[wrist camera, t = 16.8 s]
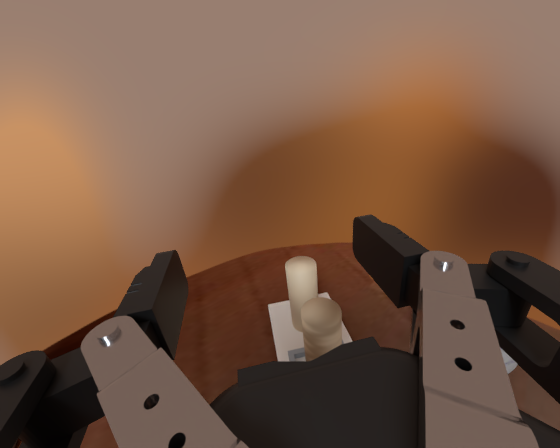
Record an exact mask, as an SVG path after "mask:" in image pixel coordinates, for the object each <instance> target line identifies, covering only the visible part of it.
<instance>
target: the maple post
mask: <svg viewBox="0 0 560 448" xmlns="http://www.w3.org/2000/svg"><path fill="white" fill-rule="evenodd" d="M301 320H302V329H303V339H304V349H305V359H306V361H311V360H314V359H316V358H318V357H319V356H321V355H323V354H325V353H327V352H328V351H330V350H332V349H334V348H336V347H338V346H339V345H341V344H342V311H341V308H340V306H339V305H338V304H337V303H336V302H335V301H333V300H331V299H328V298H323V297H318V298H313V299H310V300H308V301H307V302H305V303H304V304H303V306H302V308H301Z"/></svg>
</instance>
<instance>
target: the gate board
mask: <svg viewBox="0 0 560 448" xmlns="http://www.w3.org/2000/svg"><path fill="white" fill-rule="evenodd" d="M285 269H286V277H287V285H288V293H289V300H288V301H283V302H279V303H274V304H269V305H268V308H269V314H270V319H271V325H272V331H273V336H274V342H275V347H276V353H277V359H278V361H306V359H305V349H304V339H303V329H302V320H301V308H302V306H303V304H304V303H305V302H307V301H308V300H310V299H313V298H318V297H323V298H328V299H330V297H329V295H328V293H322V294H318V285H317V268H316V262H315V260H314V259H312V258H310V257H306V256H298V257H294V258H291V259H290V260H288V261H287V262H286V264H285ZM349 342H353V341H352V339H351V337H350V335H349V333H348V332H347V330H346V328H345V326H344V324H343V322H342V344H345V343H349Z"/></svg>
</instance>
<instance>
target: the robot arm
mask: <svg viewBox="0 0 560 448" xmlns="http://www.w3.org/2000/svg"><path fill="white" fill-rule="evenodd" d="M353 252H354V255H355V258H356V259H357V261H358V262H359V263H360V264H361V265H362V266H363V268H364V269H365V270H366V271H367V272H368V274H369V275H370V276H371V277H372V278H373V279H374V281H375V282H376V283H377V284H378V285H379V286H380V288H381V289H382V290H383V291H384V292H385V294H386V295H387V296H388V297H389V298H390V299H391V301H392V302H393V303H394V304H395V305H396V307H397V308H401V307H405V306H409V305H410V306H411V307H412V314H411V331H410V351H409V353H408V352H405V351H402V350H398V349H393V348H385V347H380V346H379V345H378V343H377V342H376V340H375V339H374V337H369V338H365V339H361V340H357V341H353V342H349V343H345V344H341V345H339V346H338V347H336V348H334V349H332V350H330V351H328V352H327V353H325V354H323V355H321V356H319V357H318V358H316V359H314V360H311V361H272V362H268V363H264V364H260V365H256V366H252V367H248V368H244V369H240V370H238V383H236V384H235V385H233V386H231V387H230V388H228V389H227V390H225V391H224V392H223V393H222V394H220V395H219V396H218V397H217V398H216V399H215V400H214V401H213V402H212V403H211V404H210V405H209V404H208V403H207V402H206V401H205V399H204V398H203V397H202V396H201V395H200V393H199V392H198V391H197V390H196V389H195V387H194V386H193V385H192V384H191V383H190V381H189V380H188V379H187V378H186V376H185V375H184V374H183V373H182V372H181V370H180V369H179V368H178V367H177V366H176V364H175V363H174V362H173V361H172V360H174V358H175V353H176V348H177V343H178V339H179V334H180V329H181V324H182V320H183V315H184V310H185V305H186V301H187V296H188V283H187V279H186V276H185V273H184V270H183V267H182V264H181V261H180V258H179V255H178V253H177V251H176V250H172V251H167V252H162V253H157V254H156V255H155V257H154V259H153V261H152V263H151V266H149V267H145V268H144V269H143V270H142V271H140V273H138V274H137V275H136V276H135V278H134V280H133V282H132V283H131V286H130V287H129V289H128V291H127V294H125V296H124V298H123V300H122V302H121V304H120V306H119V307H118V309H117V311H116V313H115V315H114V317H113V318H111V319H109V320H106V321H104V322H102V323H101V324H99V325H98V326H96V327H95V328H94V329H92V330H91V331H90V332H89V333H88V334H87V335H86V337H85V338H84V340H83V341H82V344H81V347H80V348H77V349H75V350H73V351H70V352H68V353H66V354H64V355H61V356H59V357H57V358H54V359H52V360H50V359H49V358H48V356H47V355H46V354H45V353H44V352H43V351H30V352H26V353H23V354H21V355H18V356H16V357H14V358H12V359H10V360H9V361H7V362H5V363H4V364H2V365H0V448H15V445H16V443H17V440H18V438H19V439H20V440H21V441H22V443H21V445H20V447H19V448H80V445H81V443H82V440H83V438H84V435H85V432H86V430H87V427H88V425H89V424H91V423H92V422H94V421H96V420H98V419H100V418H102V417H103V416H106V418H107V421H108V423H109V425H110V428H111V430H112V432H113V435H114V437H115V439H116V442H117V444H118V446H119V448H560V431H559V430H557V429H555V428H553V427H551V426H549V425H547V424H546V423H544V422H542V421H540V420H538V419H536V418H534V417H532V416H530V415H529V414H527V413H525V412H523V411H521V410H519V409H518V407H517V404H516V401H515V397H514V394H513V390H512V387H511V384H510V380H509V377H508V373H507V370H506V366H505V363H504V360H503V356H502V353H501V349H502V350H503V351H504V352H506V353H507V354H508V355H509V356H510V357H511V358H512V359H513V360H514V361H515V362H516V363H517V364H518V365H519V366H520V367H521V368H522V369H523V370H524V371H526V372H527V373H528V374H529V375H530V376H531V377H532V378H533V379H534V380H535V381H536V382H537V383H538V384H539V385H540V386H541V387H542V388H543V389H545V390H546V391H547V392H548V393H549V394H550V395H551V396H552V397H553V398H554V399H555V400H556V401H557V402H558V403H559V404H560V342H559V341H557V340H556V339H555V338H553V337H552V336H551V335H549V334H548V333H547V332H545V331H544V330H543V329H541V328H540V327H539V326H537V325H536V324H535V323H533V322H532V321H531V320H529V319H528V318H527V314H528V312H529V310H530V307H531V305H533V306H534V307H536V308H537V309H539V310H540V311H541V312H543V313H544V314H546V315H547V316H549V317H550V318H552V319H553V320H554V321H556V322H557V323H558V325H559V326H560V271H559V270H557V269H555V268H553V267H551V266H549V265H547V264H546V263H544V262H541V261H540V260H538V259H536V258H534V257H532V256H529V255H526V254H523V253H519V252H514V251H497V252H494V253H492V254H491V256H490V259H489V262H488V264H467V263H466V262H465V261H464V260H463V259H462V258H461V257H459V256H457V255H454V254H452V253H448V252H443V251H429V250H427V249H426V248H425V247H423V246H422V245H420V244H419V243H418V242H416V241H415V240H413V239H412V238H409V236H407V235H406V234H405V233H403V232H402V231H401V230H399V229H398V228H396V227H395V226H392V225H390V224H387V223H382V222H381V221H380V220H379V219H377V218H376V217H375V216H373V215H366V216H360V217H355V218H354V221H353ZM500 348H501V349H500Z"/></svg>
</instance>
